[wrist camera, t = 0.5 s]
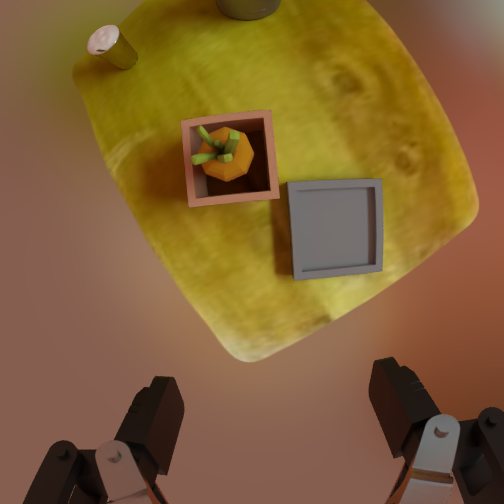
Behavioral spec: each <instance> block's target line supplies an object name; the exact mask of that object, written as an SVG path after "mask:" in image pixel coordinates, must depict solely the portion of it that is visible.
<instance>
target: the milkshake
mask: <svg viewBox="0 0 504 504" xmlns="http://www.w3.org/2000/svg"><path fill="white" fill-rule="evenodd" d="M87 50H88V52H89V53H91V54H93V55H95V56H97V57H99V58H101V59H104V60H106V61H108V62H110V63H112V64H114V65H115V66H117V67H119V68H121V69H123V70H126V69H130V68H131V67H133V66H134V65H135V64H136V62H137V60H138V55H137V52H136V51H135V50H134V49H133V47H132V46H131V45H130V44H129V42H128V41H127V40H126V39H125V37H124V36H123V35H122V33H121V32H120V30H119V29H118V27H116V26H115V25H106V26H103V27H101V28H99V29H97V30H96V31H95V32H94V33H93V35H92V36H91V37H90V38H89V40H88V44H87Z"/></svg>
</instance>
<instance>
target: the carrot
mask: <svg viewBox="0 0 504 504" xmlns="http://www.w3.org/2000/svg"><path fill="white" fill-rule="evenodd" d="M196 132H197V133H198V135H199V136H200V137H201V138H202V139H203V142H202V145H201V147H200V149H199V152H198V154H195V155H193V156H191V157H190V163H192V164H194V165H197V164H202V167H203V169H204V171H205V173H206V174H207V175H210V176H212V177H215V178H218V179H221V180H223V181H226V182H227V181H230V180H233V179H235V178H237V177H240V176H242V175H244V174H246V173H247V171H248V169H249V166H250V164H251V161H252V159H253V156H254V152H253V150H252V147H251V145H250V143H249V141H248V139H247V136H246V134H245V133H242V132H239V131H236V130H233V129H231V128H228V127H223V128H220V129H218V130H216V131H214V132H212V133H209V134H208V133H207V131H206V130H205V129H204V128H203V127H202V126H201V125H200V126H198V128H197V131H196Z"/></svg>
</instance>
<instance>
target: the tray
mask: <svg viewBox="0 0 504 504" xmlns="http://www.w3.org/2000/svg"><path fill="white" fill-rule="evenodd" d="M286 187H287V199H288V212H289V225H290V240H291V257H292V275H293V278H294V281H295V280H306V279H316V278H326V277H336V276H345V275H354V274H363V273H372V272H380V271H382V267H383V195H382V179H345V180H319V181H300V182H286Z"/></svg>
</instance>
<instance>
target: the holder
mask: <svg viewBox="0 0 504 504" xmlns="http://www.w3.org/2000/svg"><path fill="white" fill-rule="evenodd" d="M200 125H201V126H202V127H203V128H204V129H205V130H206V131H207V133H208V134H209V133H212V132H214V131H216V130H218V129H220V128H223V127H228V128H231V129H233V130H236V131H239V132H242V133H245V132H256V131H263V138H264V148H265V158H266V168H267V179H268V190H261V191H250V192H239V193H229V194H220V195H211V196H208V188H207V178H206V173H205V171H204V169H203V167H202V164H197V165H194V164H192V163H190V157H191V156H193V155H195V154H198V152H199V149H200V147H201V145H202V142H203V139H202V138H201V137H200V136H199V135H198V133H197V132H196V131H197V128H198V126H200ZM181 128H182V142H183V154H184V165H185V176H186V185H187V195H188V204H189V207H197V206H206V205H215V204H224V203H234V202H244V201H255V200H267V199H279V198H280V195H279V184H278V173H277V162H276V152H275V142H274V132H273V123H272V114H271V110H259V111H247V112H238V113H229V114H221V115H214V116H207V117H201V118H195V119H189V120H183V121H181Z"/></svg>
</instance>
